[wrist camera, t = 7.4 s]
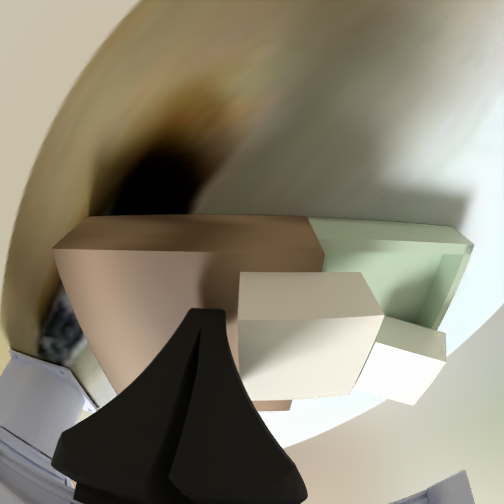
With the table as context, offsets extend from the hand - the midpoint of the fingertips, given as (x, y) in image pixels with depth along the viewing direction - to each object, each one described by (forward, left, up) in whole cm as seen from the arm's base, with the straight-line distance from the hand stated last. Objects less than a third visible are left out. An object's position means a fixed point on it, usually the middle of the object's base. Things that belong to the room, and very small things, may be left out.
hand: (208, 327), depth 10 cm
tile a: (+10, -5, 0) cm, 12 cm away
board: (-1, -3, -4) cm, 5 cm away
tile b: (+3, 0, -1) cm, 4 cm away
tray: (+9, -3, -4) cm, 10 cm away
